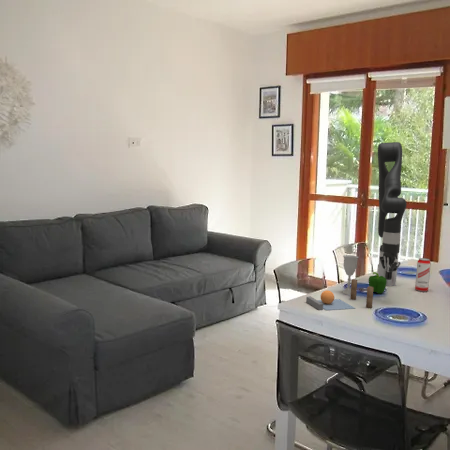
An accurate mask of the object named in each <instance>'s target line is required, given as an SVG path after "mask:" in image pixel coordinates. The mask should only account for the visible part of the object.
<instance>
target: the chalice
mask: <svg viewBox="0 0 450 450" xmlns="http://www.w3.org/2000/svg"><path fill="white" fill-rule="evenodd" d="M342 257H343V270H344V272H345V274H346V275H347V276H348V277H347V283H346V284H347V287H345V289H344V290H343V292H342V294H344V295H348V296H351V281H352V279H351V277H352V276H353V275H354V273H355V272H356V270H357V268H358V260H359V257H360V256H357V255H352V254H345V255H342Z"/></svg>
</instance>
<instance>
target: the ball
mask: <svg viewBox="0 0 450 450" xmlns="http://www.w3.org/2000/svg"><path fill="white" fill-rule="evenodd" d="M334 299H335V294H334V293H333V292H332V290H328V289H327V290H324V291H322V292H321V294H320V300H322V302H323V303H325V304H330V303H332V302H333V301H334Z"/></svg>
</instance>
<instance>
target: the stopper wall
mask: <svg viewBox="0 0 450 450" xmlns="http://www.w3.org/2000/svg"><path fill="white" fill-rule="evenodd" d="M305 303H307V304H308V305H310V306H311V307H313V308H315V309H317V310H318V311H323V310H324V309H323V304H322V303H321V302H319V301H317V299H315V298H314V297H312V296H306V299H305Z"/></svg>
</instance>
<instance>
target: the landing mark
mask: <svg viewBox="0 0 450 450" xmlns="http://www.w3.org/2000/svg"><path fill="white" fill-rule="evenodd" d="M316 300H317V299H316ZM317 301H319V302H321V303H322V304H323V310H324V311H337V310H353V309H356V307H354V306H353V305H350V304H349V303H347V302H345V301H344V300H342V299H341V298H340V299H339V298H336V299H335V298H334V301H333V302H332V303H330V304H325V303H323V302H322V300H321V299H319V300H317Z"/></svg>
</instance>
